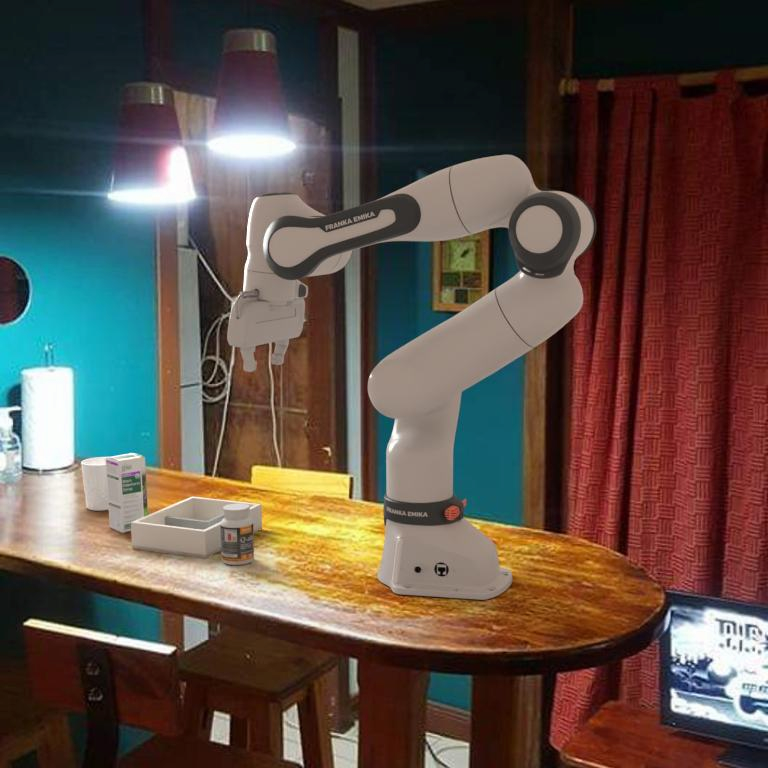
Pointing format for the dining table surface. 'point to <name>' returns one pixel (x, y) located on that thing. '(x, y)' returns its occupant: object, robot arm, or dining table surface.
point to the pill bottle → (237, 535)
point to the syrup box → (126, 490)
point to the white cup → (95, 483)
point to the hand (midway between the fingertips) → (263, 367)
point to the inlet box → (187, 527)
